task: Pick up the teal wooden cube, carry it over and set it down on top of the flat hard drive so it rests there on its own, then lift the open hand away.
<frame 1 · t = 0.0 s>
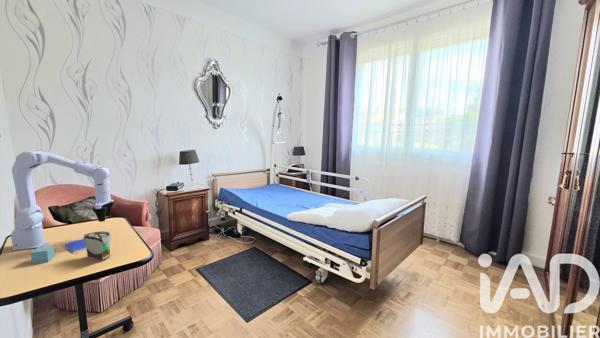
hand: (104, 218, 124), 10 cm above the table, tool pointing down, fingers open, 7 cm apart
food container: (103, 256, 107), on the table
cube: (43, 260, 103), on the table
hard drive: (80, 247, 116), on the table
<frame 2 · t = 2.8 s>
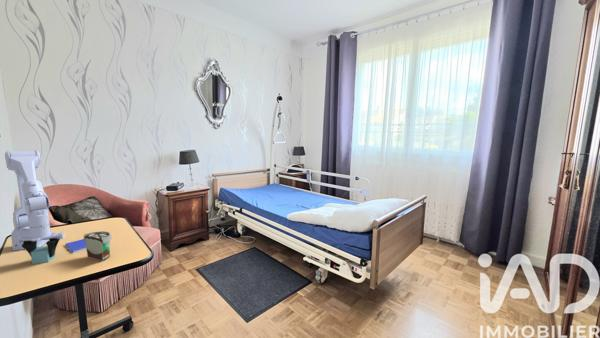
hand: (43, 256, 103), 1 cm above the table, tool pointing down, fingers closed on cube, 5 cm apart
cube: (43, 260, 103), on the table, touching gripper
everything else where it was.
when the fingers open (5 cm above the table, at t = 6.7 s): cube drops 3 cm, resting on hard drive.
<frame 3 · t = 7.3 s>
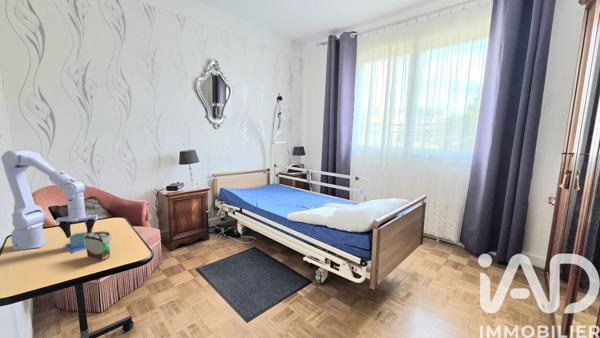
hand: (79, 236, 115), 5 cm above the table, tool pointing down, fingers open, 7 cm apart
cube: (80, 244, 115), point 1 cm above the table, touching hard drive
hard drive: (81, 248, 116), on the table, touching cube
everything else where it was.
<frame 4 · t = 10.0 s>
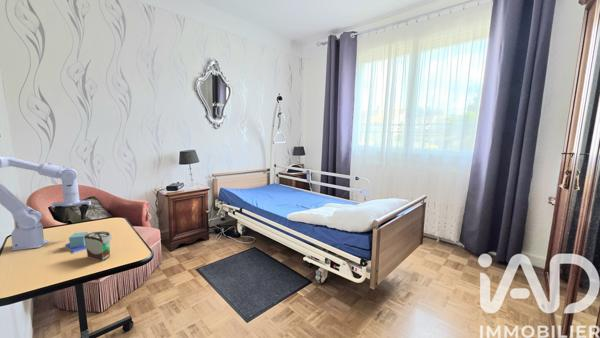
hand: (73, 220, 122), 9 cm above the table, tool pointing down, fingers open, 7 cm apart
nothing on the table moved.
at the end: cube 0.4 cm off-centre on the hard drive, point 1.8 cm above the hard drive's base; cube tilted 1°; the gripper is holding nothing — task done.
